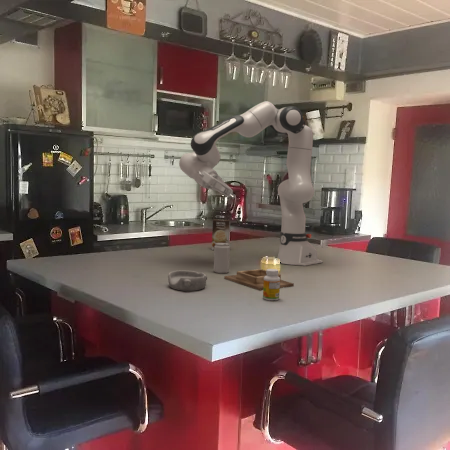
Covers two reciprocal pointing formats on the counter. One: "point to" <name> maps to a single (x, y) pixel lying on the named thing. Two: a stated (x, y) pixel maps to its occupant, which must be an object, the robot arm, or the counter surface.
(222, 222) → the coffee box
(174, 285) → the dish
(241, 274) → the tray
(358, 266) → the counter surface
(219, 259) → the beverage can
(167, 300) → the counter surface
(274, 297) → the supplement bottle
